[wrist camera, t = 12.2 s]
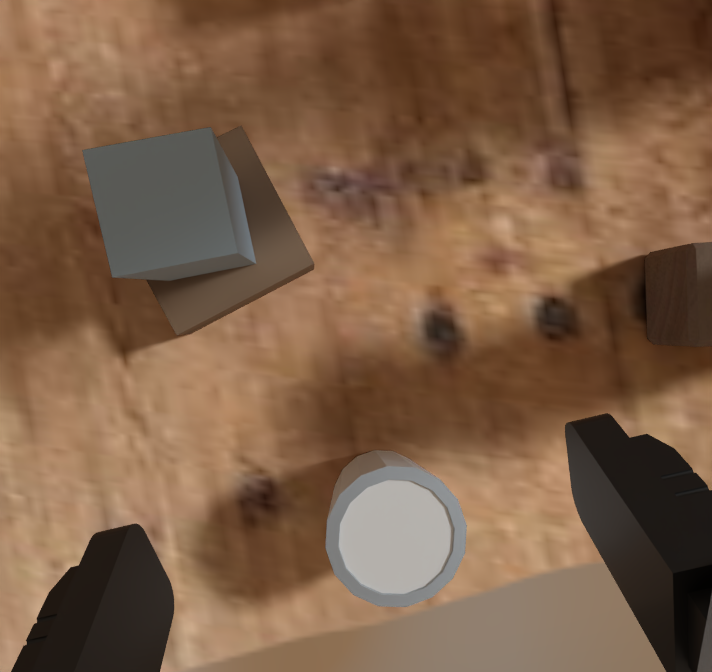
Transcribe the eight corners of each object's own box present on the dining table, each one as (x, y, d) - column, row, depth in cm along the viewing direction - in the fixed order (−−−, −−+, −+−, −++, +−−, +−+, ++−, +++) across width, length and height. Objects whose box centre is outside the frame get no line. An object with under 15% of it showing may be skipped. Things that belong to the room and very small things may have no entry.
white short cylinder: (421, 567, 37) (447, 623, 30) (309, 540, 37) (308, 591, 30) (451, 454, 37) (483, 485, 30) (339, 426, 37) (345, 450, 30)
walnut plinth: (124, 210, 36) (100, 196, 32) (248, 147, 36) (241, 125, 32) (191, 333, 36) (176, 335, 32) (313, 269, 37) (314, 263, 33)
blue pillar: (149, 193, 32) (82, 150, 22) (237, 176, 32) (210, 126, 22) (169, 280, 32) (112, 277, 22) (256, 263, 33) (237, 253, 23)
